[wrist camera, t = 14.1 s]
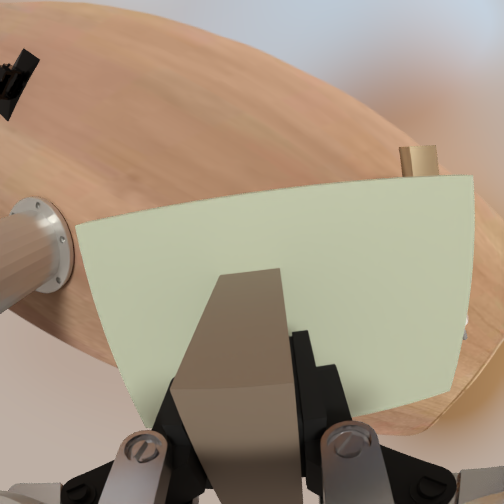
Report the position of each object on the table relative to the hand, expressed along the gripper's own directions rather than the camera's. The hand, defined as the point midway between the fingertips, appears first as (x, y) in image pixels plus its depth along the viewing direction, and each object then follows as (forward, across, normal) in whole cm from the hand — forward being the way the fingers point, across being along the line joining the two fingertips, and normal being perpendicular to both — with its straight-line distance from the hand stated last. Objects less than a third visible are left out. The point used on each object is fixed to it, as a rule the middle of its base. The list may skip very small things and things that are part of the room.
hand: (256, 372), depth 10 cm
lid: (+4, -2, 0) cm, 4 cm away
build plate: (+22, +30, -26) cm, 45 cm away
